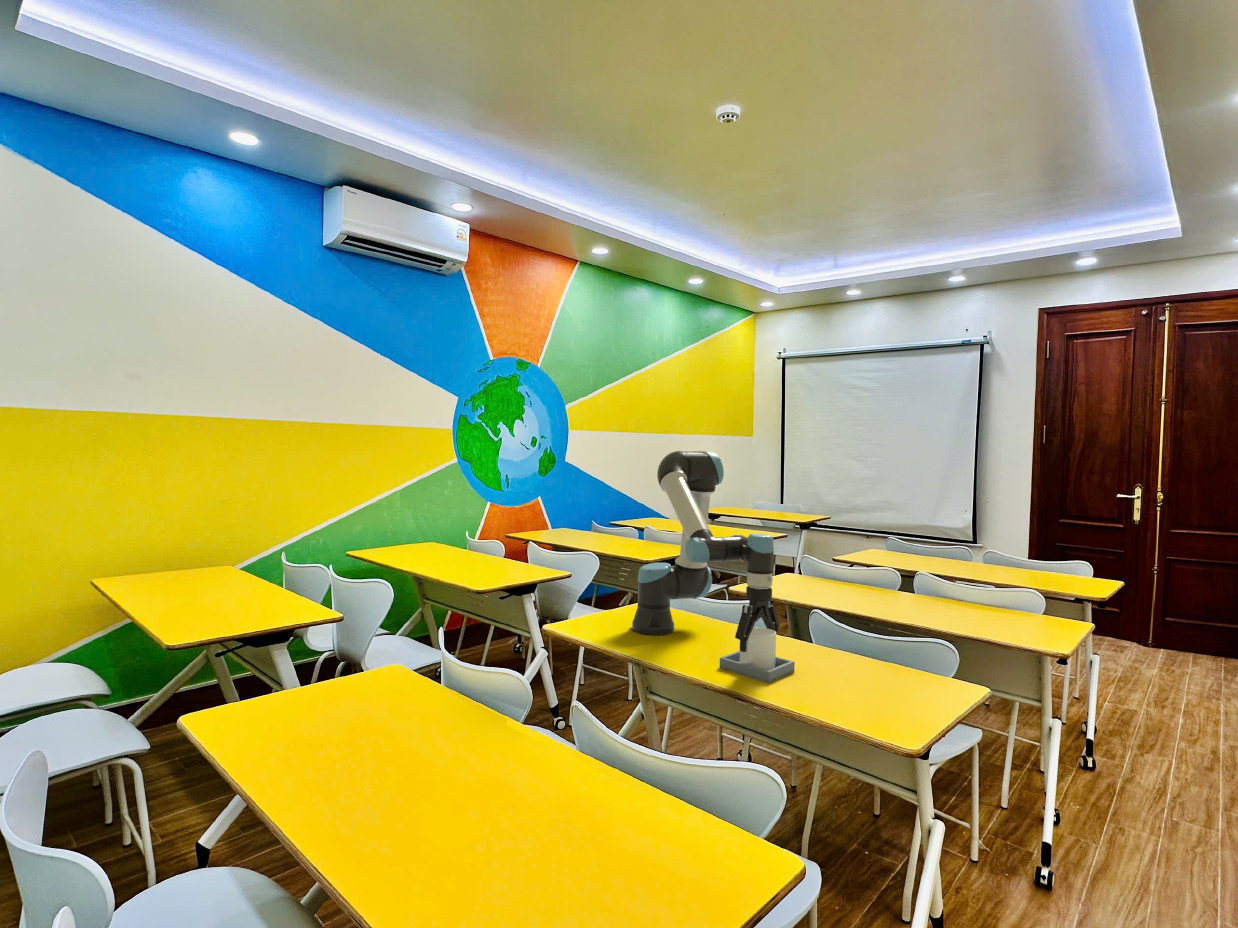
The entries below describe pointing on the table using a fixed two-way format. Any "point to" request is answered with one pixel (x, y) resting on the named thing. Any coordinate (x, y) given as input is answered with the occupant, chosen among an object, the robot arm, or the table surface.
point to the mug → (762, 648)
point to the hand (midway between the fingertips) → (757, 657)
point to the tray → (780, 669)
